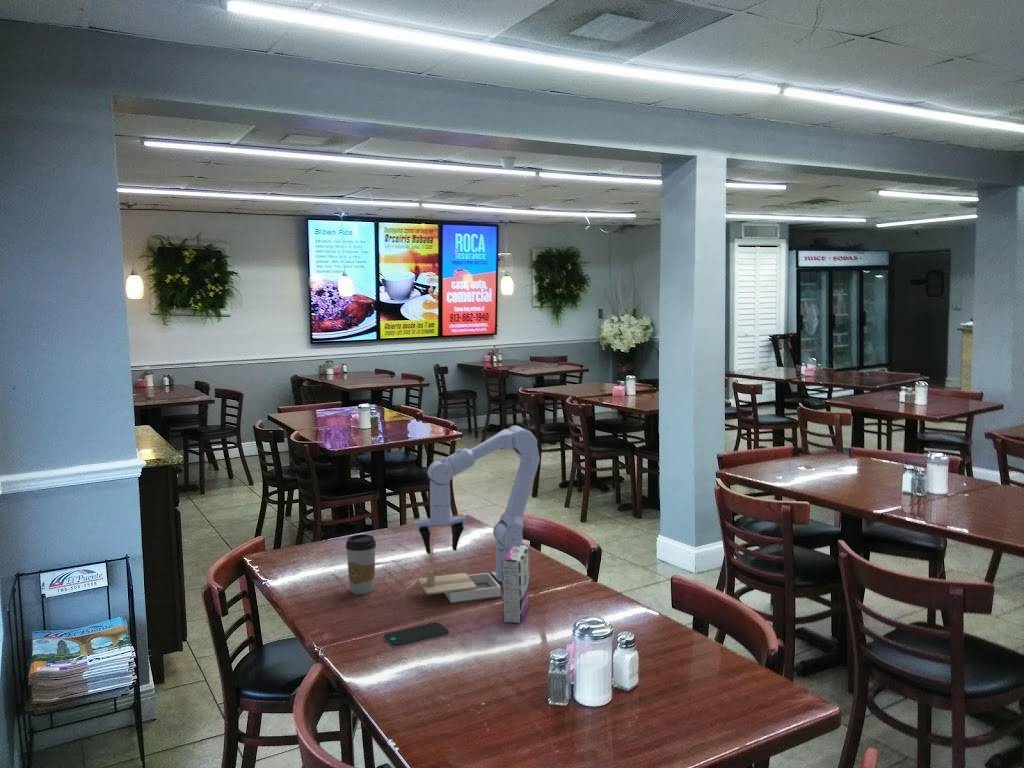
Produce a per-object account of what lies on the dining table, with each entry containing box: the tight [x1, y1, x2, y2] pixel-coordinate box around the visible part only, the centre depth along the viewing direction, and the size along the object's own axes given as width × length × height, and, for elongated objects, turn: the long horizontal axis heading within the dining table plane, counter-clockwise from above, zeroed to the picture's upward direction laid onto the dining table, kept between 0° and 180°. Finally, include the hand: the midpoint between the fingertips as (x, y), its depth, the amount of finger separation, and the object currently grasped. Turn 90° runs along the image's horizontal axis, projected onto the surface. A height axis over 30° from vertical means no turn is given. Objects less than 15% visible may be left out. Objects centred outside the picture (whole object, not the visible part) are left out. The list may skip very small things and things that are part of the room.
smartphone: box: [383, 622, 450, 648], centre depth 190 cm, size 8×1×15 cm
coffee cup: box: [345, 534, 377, 595], centre depth 220 cm, size 8×8×15 cm
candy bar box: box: [502, 546, 530, 624], centre depth 201 cm, size 11×5×16 cm, turn 168°
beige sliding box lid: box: [417, 568, 477, 595], centre depth 215 cm, size 14×12×4 cm
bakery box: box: [443, 572, 502, 605], centre depth 218 cm, size 14×12×3 cm
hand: (441, 551), depth 224 cm, fingers open, 7 cm apart
